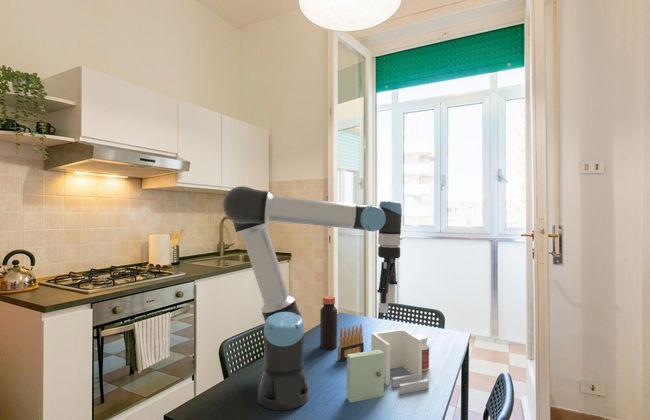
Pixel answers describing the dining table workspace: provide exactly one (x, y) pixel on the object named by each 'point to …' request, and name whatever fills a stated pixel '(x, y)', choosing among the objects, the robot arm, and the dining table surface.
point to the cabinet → (401, 358)
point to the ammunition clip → (350, 342)
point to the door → (365, 375)
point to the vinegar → (328, 324)
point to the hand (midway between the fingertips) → (387, 307)
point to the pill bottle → (424, 352)
